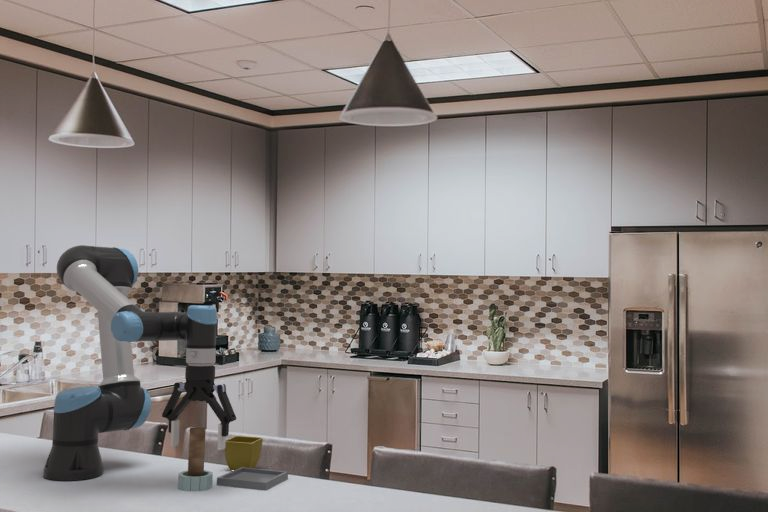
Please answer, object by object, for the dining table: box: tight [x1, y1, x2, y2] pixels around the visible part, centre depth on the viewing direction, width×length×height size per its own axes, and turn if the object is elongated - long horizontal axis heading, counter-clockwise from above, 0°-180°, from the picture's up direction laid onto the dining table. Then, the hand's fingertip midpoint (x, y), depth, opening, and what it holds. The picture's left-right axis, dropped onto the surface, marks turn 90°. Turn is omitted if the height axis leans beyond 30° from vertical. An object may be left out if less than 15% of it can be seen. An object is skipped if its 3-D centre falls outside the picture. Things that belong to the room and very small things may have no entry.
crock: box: [177, 469, 214, 492], centre depth 199 cm, size 8×8×4 cm
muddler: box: [187, 426, 207, 477], centre depth 199 cm, size 4×4×15 cm
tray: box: [216, 467, 289, 491], centre depth 206 cm, size 14×14×2 cm
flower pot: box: [224, 435, 264, 471], centre depth 222 cm, size 9×9×9 cm
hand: (197, 447), depth 199 cm, fingers open, 13 cm apart
